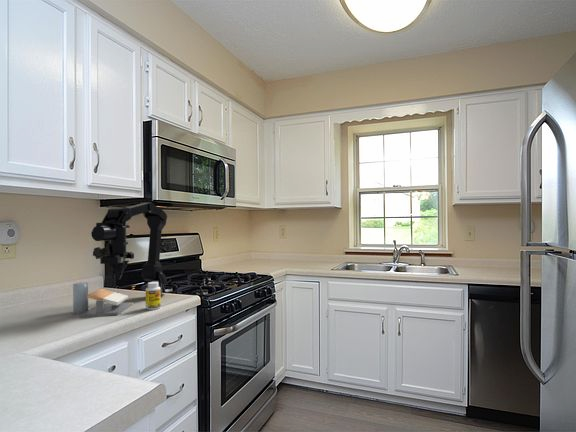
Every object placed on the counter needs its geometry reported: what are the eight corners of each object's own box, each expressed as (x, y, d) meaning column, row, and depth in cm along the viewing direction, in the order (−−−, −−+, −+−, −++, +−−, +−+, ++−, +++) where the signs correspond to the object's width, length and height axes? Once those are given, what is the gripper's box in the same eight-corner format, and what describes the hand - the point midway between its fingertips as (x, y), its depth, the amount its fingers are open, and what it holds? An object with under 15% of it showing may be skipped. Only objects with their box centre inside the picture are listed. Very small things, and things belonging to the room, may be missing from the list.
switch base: (99, 306, 139) (99, 292, 139) (132, 304, 140) (132, 291, 140) (80, 317, 123) (80, 301, 123) (117, 315, 124) (117, 300, 124)
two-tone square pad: (100, 293, 137) (101, 288, 137) (127, 300, 138) (128, 295, 138) (85, 300, 125) (87, 294, 125) (115, 307, 126) (117, 302, 126)
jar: (77, 310, 133) (77, 282, 133) (90, 309, 133) (90, 281, 133) (70, 313, 128) (70, 284, 128) (84, 313, 128) (84, 284, 128)
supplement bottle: (147, 311, 130) (146, 284, 130) (144, 308, 134) (144, 282, 134) (162, 308, 133) (162, 282, 133) (159, 305, 137) (158, 280, 138)
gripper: (106, 239, 141) (106, 276, 141) (84, 241, 122) (85, 284, 122) (134, 238, 142) (134, 275, 142) (117, 240, 124) (117, 283, 123)
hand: (118, 279), depth 132 cm, fingers closed
